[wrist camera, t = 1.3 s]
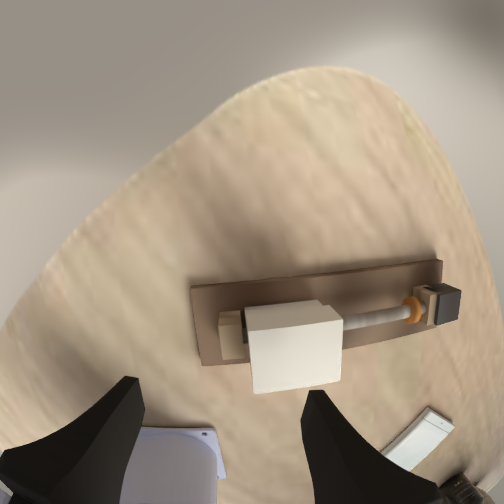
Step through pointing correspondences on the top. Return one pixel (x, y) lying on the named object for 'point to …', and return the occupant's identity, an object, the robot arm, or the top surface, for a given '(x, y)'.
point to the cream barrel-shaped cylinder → (485, 497)
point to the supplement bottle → (460, 491)
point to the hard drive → (418, 439)
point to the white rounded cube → (293, 345)
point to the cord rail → (328, 293)
